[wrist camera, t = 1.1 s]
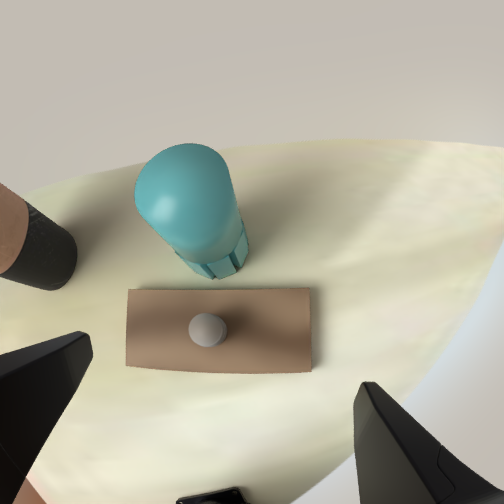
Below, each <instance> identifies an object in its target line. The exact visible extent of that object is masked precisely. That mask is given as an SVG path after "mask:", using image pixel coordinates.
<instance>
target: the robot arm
mask: <svg viewBox="0 0 504 504" xmlns="http://www.w3.org/2000/svg"><path fill="white" fill-rule="evenodd" d="M92 358H93V350H92V345H91V340H90V336H89V335H88V334H87V333H84V332H81V331H76V332H73V333H70V334H67V335H64V336H60V337H57V338H54V339H51V340H48V341H44V342H41V343H38V344H35V345H32V346H28V347H25V348H22V349H18V350H15V351H12V352H9V353H5V354H2V355H0V504H12V503H13V501H14V499H15V497H16V495H17V493H18V492H19V490H20V488H21V486H22V484H23V482H24V480H25V478H26V476H27V474H28V472H29V470H30V469H31V467H32V465H33V463H34V461H35V459H36V458H37V456H38V454H39V452H40V451H41V449H42V447H43V445H44V444H45V442H46V440H47V438H48V437H49V435H50V433H51V432H52V430H53V428H54V427H55V425H56V423H57V422H58V420H59V418H60V417H61V415H62V413H63V412H64V410H65V408H66V407H67V405H68V404H69V402H70V400H71V399H72V397H73V396H74V394H75V392H76V390H77V388H78V387H79V385H80V383H81V381H82V378H83V376H84V374H85V372H86V370H87V368H88V366H89V365H90V363H91V361H92ZM353 410H354V450H355V458H356V467H357V475H358V485H359V494H360V504H504V491H502V490H500V489H498V488H496V487H495V486H493V485H492V484H490V483H489V482H488V481H486V480H485V479H484V478H482V477H481V476H479V475H478V474H476V473H475V472H474V471H473V470H471V469H470V468H469V467H467V466H466V465H465V464H463V463H462V462H461V461H459V459H457V458H456V457H455V456H454V455H453V454H452V453H451V452H449V451H448V450H447V449H446V448H445V447H444V446H443V445H441V443H440V442H439V441H437V440H436V439H435V438H434V437H433V436H432V435H431V434H430V433H429V432H428V431H426V430H425V428H424V427H422V426H421V425H420V424H419V423H418V422H417V421H416V420H415V419H414V418H413V417H412V416H411V415H409V413H408V412H406V411H405V410H404V409H403V408H402V407H401V406H400V405H399V404H398V403H397V402H396V401H395V400H394V399H393V398H392V397H391V396H390V395H388V394H387V393H386V392H385V391H384V390H383V389H382V388H381V387H380V386H379V385H378V384H377V383H376V382H366V381H365V382H362V384H361V385H360V388H359V390H358V393H357V395H356V398H355V400H354V406H353ZM233 491H236V492H237V493H233ZM180 502H182V503H183V504H250V503H247V502H246V500H245V498H244V496H243V494H242V493H241V491H240V489H239V488H236V487H232V488H228V489H224V490H220V491H216V492H211V493H206V494H201V495H196V496H191V497H185V498H179V499H178V500H177V501H176V504H181V503H180Z"/></svg>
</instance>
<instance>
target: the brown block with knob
mask: <svg viewBox="0 0 504 504" xmlns="http://www.w3.org/2000/svg"><path fill="white" fill-rule="evenodd" d="M126 366H131V367H140V368H149V369H160V370H172V371H187V372H205V373H241V374H265V373H301V372H311V321H310V293H309V288H290V289H245V290H142V289H128V304H127V325H126Z"/></svg>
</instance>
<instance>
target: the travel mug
mask: <svg viewBox="0 0 504 504" xmlns="http://www.w3.org/2000/svg"><path fill="white" fill-rule="evenodd" d="M76 260H77V248H76V244H75V241H74V239H73V237H72V236H71V235H70V234H69V233H68V232H67V231H66V230H64V229H63V228H61V227H60V226H59V225H57V224H56V223H55V222H53V221H52V220H50V219H49V218H48V217H46V216H45V215H44V214H42V213H41V212H40V211H38V210H37V209H35V208H34V207H33V206H32V205H30V204H29V203H28V202H26V201H25V200H24V199H22V198H21V197H20V196H18V195H17V194H15V193H14V192H12V191H11V190H10V189H8V188H7V187H5V186H4V185H3V184H1V183H0V277H2V278H5V279H8V280H12V281H15V282H18V283H22V284H25V285H29V286H32V287H36V288H40V289H43V290H49V291H52V290H56V289H59V288H60V287H62V286H63V285H64V284H65V283H66V282H67V281H68V280H69V278H70V277H71V275H72V273H73V271H74V268H75V265H76Z"/></svg>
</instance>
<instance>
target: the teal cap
mask: <svg viewBox="0 0 504 504" xmlns="http://www.w3.org/2000/svg"><path fill="white" fill-rule="evenodd" d="M134 196H135V204H136V207H137V209H138V211H139V213H140V214H141V216H142V217H143V218H144V219H145V220H146V221H147V222H148V223H149V224H150V226H151V227H152V228H153V229H154V230H155V231H156V232H157V233H158V234H159V235H160V236H161V237H162V238H163V239H164V240H165V241H166V242H167V243H168V244H169V245H170V246H171V247H172V248H173V249H174V250H175V253H176V254H177V255H178V256H180V258H181V259H182V260H183V261H184V262H185V263H186V264H187V265H188V266H189V267H190V268H192V269H193V270H194V271H195V272H196V273H198V274H200V275H203V276H205V277H207V278H210V279H212V280H213V278H214V275H215V276H216V277H217V278H218V279H222V278H224V277H227V276H229V275H231V274H234V273H236V270H235V267H234V265H235V266H238V267H240V268H241V267H242V265H243V263H244V260H245V258H246V256H247V254H248V251H249V250H248V246H247V245H249V244H248V240H247V236H246V232H245V228H244V224H243V221H242V219H241V217H240V213H239V209H238V205H237V202H236V198H235V194H234V190H233V186H232V182H231V178H230V174H229V170H228V167H227V165H226V163H225V161H224V159H223V158H222V157H221V156H220V155H219V154H218V153H217V152H216V151H214V150H213V149H211V148H209V147H207V146H204V145H200V144H180V145H176V146H173V147H170V148H167V149H165V150H163V151H162V152H160V153H158V154H157V155H156V156H154V157H153V158H152V159H151V160H150V161H149V162H148V163H147V164H146V165H145V166H144V168H143V169H142V171H141V173H140V175H139V176H138V179H137V182H136V186H135V192H134Z"/></svg>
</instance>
